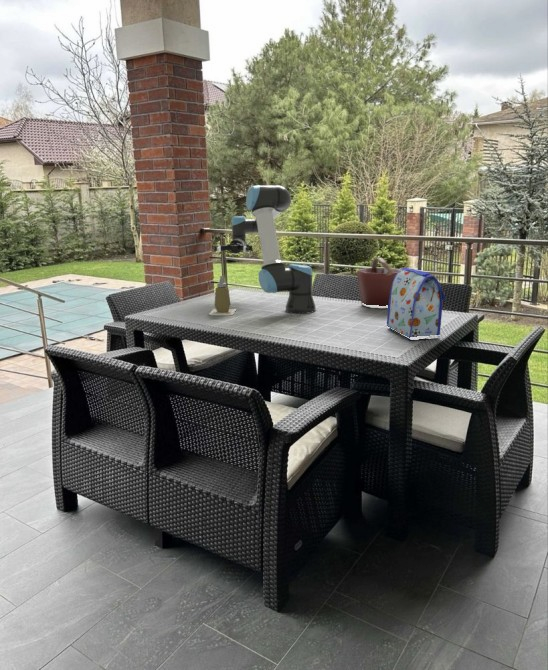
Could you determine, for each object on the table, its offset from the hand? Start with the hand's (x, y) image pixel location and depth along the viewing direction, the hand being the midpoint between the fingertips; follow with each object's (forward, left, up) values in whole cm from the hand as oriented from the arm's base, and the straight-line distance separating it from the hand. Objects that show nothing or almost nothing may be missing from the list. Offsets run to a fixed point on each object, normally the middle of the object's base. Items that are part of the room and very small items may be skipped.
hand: (230, 249), depth 274 cm
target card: (+3, +14, -30) cm, 33 cm away
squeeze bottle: (+3, +14, -30) cm, 33 cm away
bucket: (-76, -3, -30) cm, 82 cm away
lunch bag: (-84, +54, -30) cm, 105 cm away
